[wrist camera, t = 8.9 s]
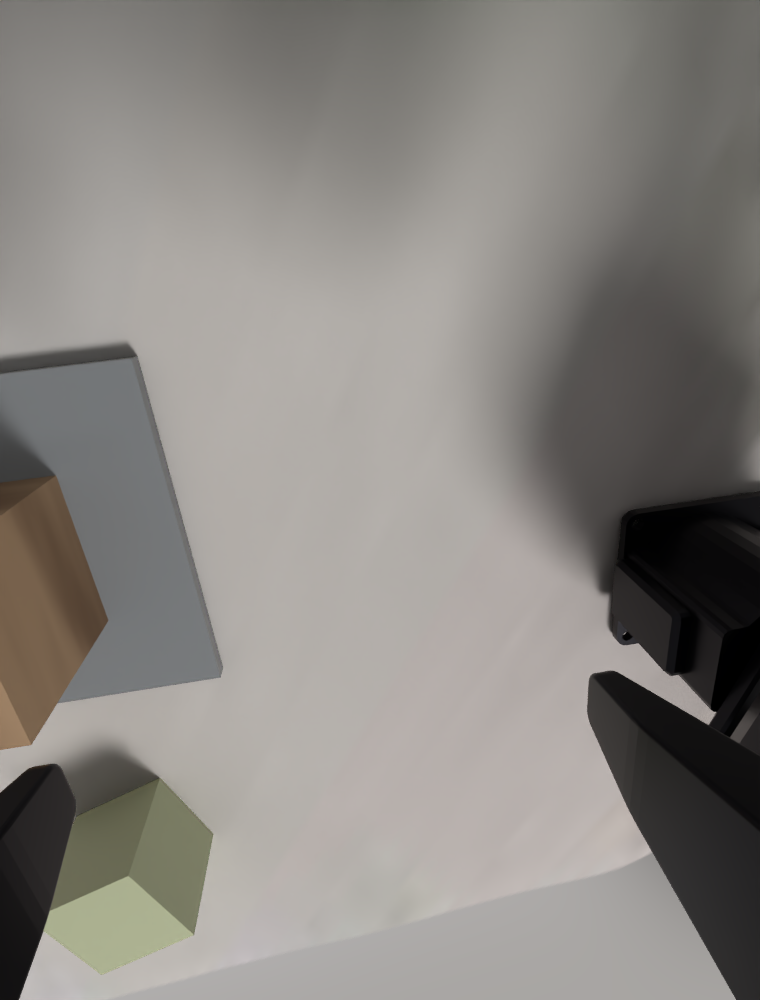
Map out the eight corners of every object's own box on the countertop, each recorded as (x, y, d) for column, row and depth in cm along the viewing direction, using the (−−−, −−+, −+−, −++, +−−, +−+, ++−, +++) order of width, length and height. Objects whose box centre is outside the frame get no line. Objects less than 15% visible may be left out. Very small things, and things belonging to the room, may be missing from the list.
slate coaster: (137, 356, 18) (131, 358, 17) (222, 667, 23) (220, 677, 22) (-281, 406, 17) (-301, 410, 16) (-96, 718, 22) (-107, 729, 21)
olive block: (160, 776, 25) (128, 876, 20) (213, 832, 26) (194, 934, 22) (77, 814, 25) (29, 920, 21) (135, 867, 27) (101, 975, 22)
